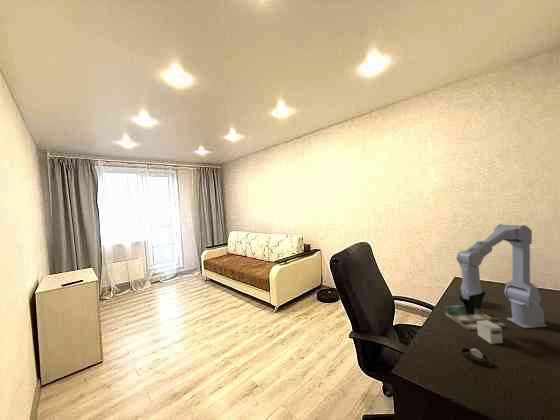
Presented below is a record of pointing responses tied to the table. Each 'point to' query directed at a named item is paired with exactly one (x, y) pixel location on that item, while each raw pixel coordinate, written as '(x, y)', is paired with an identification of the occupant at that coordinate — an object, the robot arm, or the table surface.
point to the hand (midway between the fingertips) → (474, 311)
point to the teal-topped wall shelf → (469, 317)
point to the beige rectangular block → (489, 331)
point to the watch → (476, 354)
